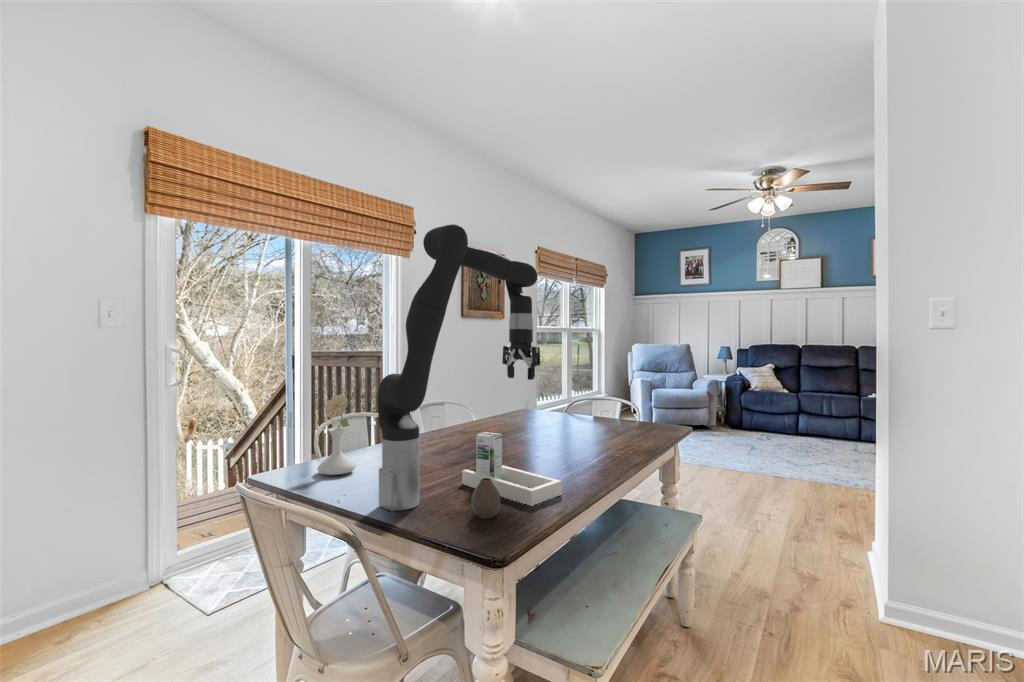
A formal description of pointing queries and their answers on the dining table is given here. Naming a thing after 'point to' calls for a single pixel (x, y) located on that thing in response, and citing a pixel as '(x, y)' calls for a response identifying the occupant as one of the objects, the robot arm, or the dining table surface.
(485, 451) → the syrup box
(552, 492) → the rectangular tray
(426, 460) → the dining table surface
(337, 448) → the flower in vase
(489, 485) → the vase
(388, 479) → the robot arm
